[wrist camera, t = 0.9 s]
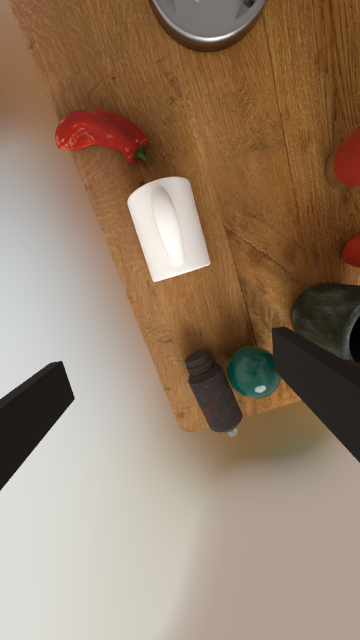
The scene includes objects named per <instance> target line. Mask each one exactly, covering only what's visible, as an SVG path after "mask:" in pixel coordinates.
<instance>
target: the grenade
mask: <svg viewBox="0 0 360 640" xmlns="http://www.w3.org/2000/svg"><path fill="white" fill-rule="evenodd" d="M185 364H186V366H187V370H188V372H189V374H190V376H189V380H188V382H189V384H190V387H191V389H192V391H193V393H194V395H195V397H196V399H197V401H198V403H199V406H200V408H201V410H202V412H203V414H204V416H205V418H206V420H207V422H208V425H209V427H210V428H211V429H212V430H213V431H215V432H227V433H228V434H229V435H230V436H231V437H233V436H234V435H235V434H237V433H238V431H237V429H236V426H237V425H238V424H239V423H240V421H241V419H242V412H241V410H240V408H239V406H238V403H237V401H236V399H235V397H234V395H233V392H232V390H231V388H230V386H229V384H228V381H227V379H226V377H225V375H224V372H223V370H222V368H221V366H219V365H217V364H215V363H214V361H213V359H212V357H211V356H210V354H209V352H208V351H207V350H202V351H199V352H196V353H194V354H192V355H190V356H189V357H188V358H186V360H185Z"/></svg>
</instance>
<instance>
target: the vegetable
mask: <svg viewBox="0 0 360 640" xmlns="http://www.w3.org/2000/svg"><path fill="white" fill-rule="evenodd" d="M55 138H56V145H57V147H58V148H60V149H63V150H79V149H83V148H86V147H88V146H91V145H95V144H96V145H101V146H105V147H108V148H111V149H113V150H116V151H121V152H122V153H123V154H124V156H125V157H126V159H127V160H128V161H129V162H131V163H135V162H137V161H138V160H139V159H140V158H142V159H143V160H144V161H145V162H146V161H148V159H147V156H145V155H144V153H145V150H146V148H147V145H148V140H147V136H146V134H145V133H144V132H143V130H142V129H140V128H139V127H138V126H137V125H135V124H134V123H132V122H131V121H130V120H128V119H126V118H125V117H123V116H120V115H118V114H116V113H113V112H110V111H105V110H94V111H76V112H72V113H70V114H69V115H67V116H65V117H64V118H63V119H62V120H61V121H60V123H59V125H58V127H57V130H56V134H55Z"/></svg>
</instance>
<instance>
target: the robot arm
mask: <svg viewBox="0 0 360 640" xmlns="http://www.w3.org/2000/svg"><path fill="white" fill-rule="evenodd" d="M149 1H150V4H151V6H152V9H153V11H154V13H155V15H156V17H157V19H158V21H159V22H160V24H161V25H162V27H163V28H164V30H165V31H166V32H167V33H168V34H169V35H170V36H171V37H172V38H173V39H174V40H175V41H177V42H178V43H180V44H181V45H183V46H185V47H187V48H189V49H192V50H195V51H200V52H215V51H220V50H223V49H226V48H228V47H230V46H232V45H233V44H235V43H237V42H238V41H239V40H241V39H242V38H243V37H244V36H245V35H246V34H247V33H248V32H249V31H250V30H251V29H252V27H253V26H254V25H255V23H256V22H257V20H258V19H259V17H260V15H261V14H262V12H263V10H264V7H265V5H266V3H267V0H149ZM272 341H273V360H274V370H275V371H276V372H277V373H278V374H279V376H280V377H281V378H282V379H283V380H284V381H285V382H286V383H287V384H288V385H289V386H290V387H291V389H292V390H293V391H294V392H295V393H296V394H297V395H298V396H299V397H300V398H301V399H302V400H303V402H304V403H305V404H306V405H307V406H308V407H309V408H310V409H311V410H312V411H313V412H314V414H315V415H316V416H318V418H319V419H320V420H321V421H322V422H323V423H324V424H325V425H326V427H327V428H328V429H329V430H330V431H331V432H332V433H333V434H334V435H335V436H336V437H337V439H338V440H339V441H340V442H341V443H342V444H343V445H344V446H345V447H346V448H347V449H348V450H349V452H351V454H352V455H353V456H354V457H355V458H356V459H357V460H358V461H359V462H360V363H358V362H355V361H352V360H348V359H341V358H340V357H338V356H336V355H334V354H333V353H331V352H329V351H327V350H325V349H324V348H322V347H320V346H318V345H317V344H315V343H313V342H311V341H309V340H308V339H306V338H304V337H302V336H301V335H299V334H297V333H295V332H293V331H292V330H290V329H288V328H286V327H279V328H272ZM74 399H75V398H74V395H73V392H72V389H71V386H70V383H69V380H68V377H67V374H66V371H65V368H64V365H63V363H62V361H59V362H53V363H50V364H48V365H47V366H45V367H44V368H43V369H41V370H40V371H39V372H37V373H36V374H34V375H33V376H32V377H30V378H29V379H28V380H26V381H25V382H23V383H22V384H21V385H19V386H18V387H17V388H15V389H14V390H12V391H11V392H10V393H8V394H7V395H6V396H4V397H3V398H2V399H0V490H1V489H2V488H3V487H4V485H5V484H6V483H7V482H8V481H9V479H10V478H11V477H12V476H13V474H14V473H15V472H16V471H17V469H18V468H19V467H20V466H21V465H22V463H23V462H24V461H25V460H26V458H27V457H28V456H29V455H30V453H31V452H32V451H33V450H34V448H35V447H36V446H37V445H38V443H39V442H40V441H41V440H42V439H43V437H44V436H45V435H46V434H47V432H48V431H49V430H50V429H51V427H52V426H53V425H54V424H55V423H56V421H57V420H58V419H59V418H60V416H61V415H62V414H63V413H64V411H65V410H66V409H67V407H69V405H70V404H71V403H72V402H73V400H74Z"/></svg>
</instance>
